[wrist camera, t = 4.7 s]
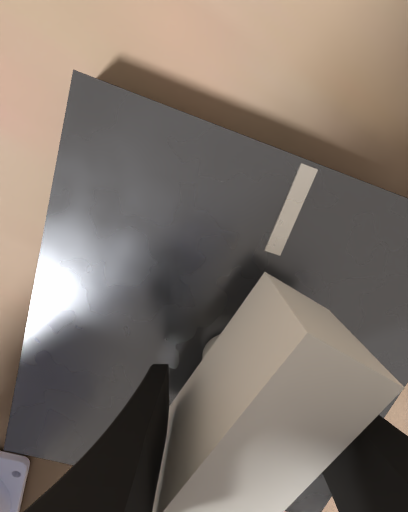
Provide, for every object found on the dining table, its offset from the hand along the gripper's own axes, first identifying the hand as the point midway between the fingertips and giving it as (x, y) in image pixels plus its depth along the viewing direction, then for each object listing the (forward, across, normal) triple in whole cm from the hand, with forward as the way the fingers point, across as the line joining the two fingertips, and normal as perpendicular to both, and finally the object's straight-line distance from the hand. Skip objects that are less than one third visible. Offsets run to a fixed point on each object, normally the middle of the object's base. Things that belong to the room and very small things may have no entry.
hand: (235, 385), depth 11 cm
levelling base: (+3, 0, 0) cm, 4 cm away
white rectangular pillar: (+2, 0, 0) cm, 2 cm away
